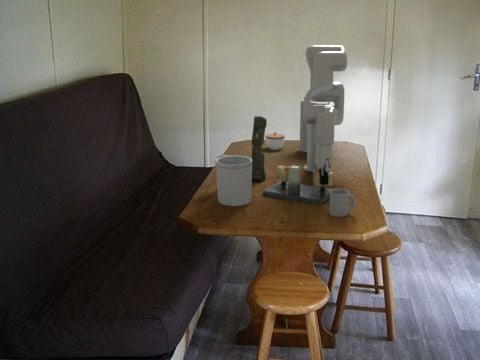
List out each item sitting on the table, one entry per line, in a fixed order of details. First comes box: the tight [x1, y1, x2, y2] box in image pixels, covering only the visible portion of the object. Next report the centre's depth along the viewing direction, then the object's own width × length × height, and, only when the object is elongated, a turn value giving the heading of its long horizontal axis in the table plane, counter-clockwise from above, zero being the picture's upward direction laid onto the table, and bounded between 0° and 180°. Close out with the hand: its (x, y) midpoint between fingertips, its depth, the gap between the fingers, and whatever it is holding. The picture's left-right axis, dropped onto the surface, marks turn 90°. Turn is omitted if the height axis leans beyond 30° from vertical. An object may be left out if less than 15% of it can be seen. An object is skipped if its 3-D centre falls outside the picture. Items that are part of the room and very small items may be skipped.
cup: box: [328, 188, 357, 218], centre depth 213 cm, size 7×10×9 cm
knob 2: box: [312, 170, 334, 190], centre depth 234 cm, size 8×3×8 cm, turn 103°
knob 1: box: [276, 165, 291, 184], centre depth 243 cm, size 8×3×8 cm, turn 22°
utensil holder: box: [214, 154, 253, 207], centre depth 227 cm, size 15×15×18 cm
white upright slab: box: [299, 99, 330, 153], centre depth 307 cm, size 19×15×28 cm
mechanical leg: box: [251, 115, 267, 184], centre depth 257 cm, size 14×7×30 cm, turn 168°
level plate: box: [262, 165, 333, 206], centre depth 235 cm, size 16×26×13 cm, turn 61°
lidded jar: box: [265, 131, 286, 151], centre depth 316 cm, size 11×11×9 cm
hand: (323, 182), depth 235 cm, fingers open, 3 cm apart
